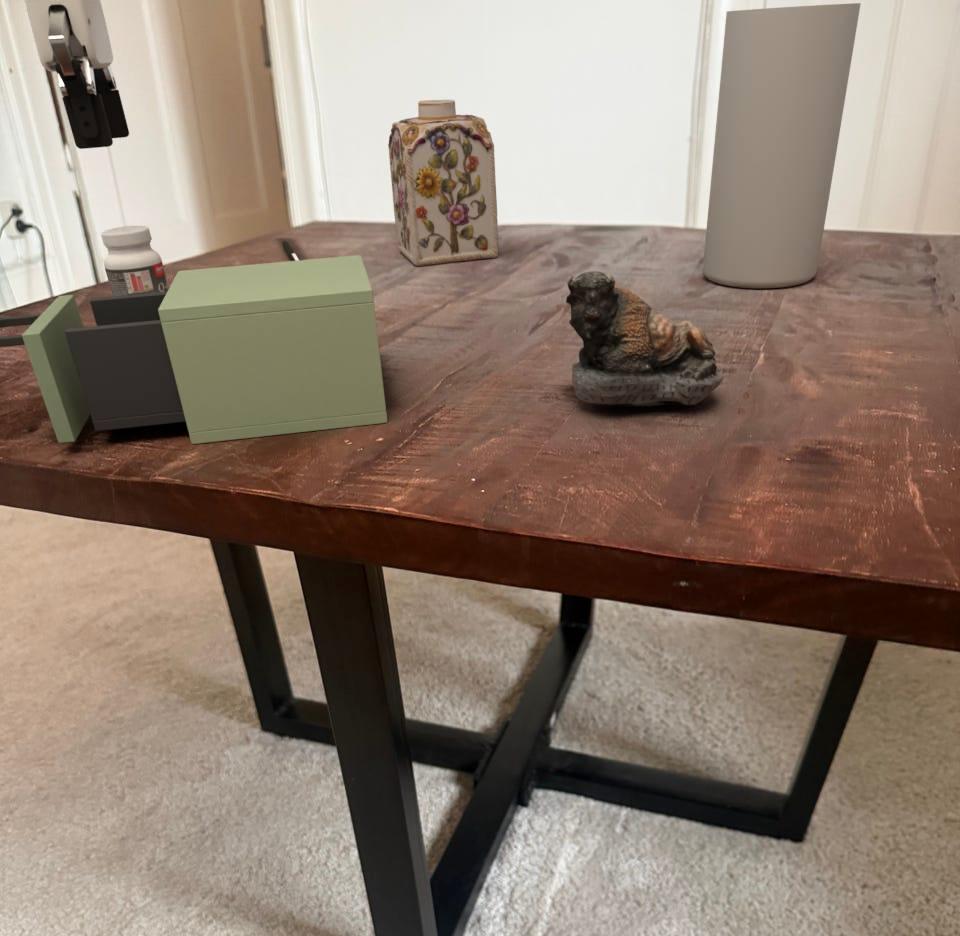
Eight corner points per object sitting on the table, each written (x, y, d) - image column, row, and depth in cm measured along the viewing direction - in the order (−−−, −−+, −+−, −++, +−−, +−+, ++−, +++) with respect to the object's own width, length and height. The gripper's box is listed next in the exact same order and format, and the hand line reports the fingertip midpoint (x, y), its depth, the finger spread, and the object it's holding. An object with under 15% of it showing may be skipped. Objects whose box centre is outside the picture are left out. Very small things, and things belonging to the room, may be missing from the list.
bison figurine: (703, 385, 70) (716, 252, 65) (734, 415, 65) (752, 271, 59) (557, 398, 70) (558, 264, 64) (576, 430, 64) (577, 286, 58)
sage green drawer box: (191, 444, 65) (157, 309, 60) (205, 390, 76) (177, 270, 70) (387, 422, 67) (372, 289, 61) (374, 372, 77) (361, 254, 72)
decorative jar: (396, 251, 122) (382, 101, 112) (476, 242, 124) (469, 94, 114) (414, 268, 113) (400, 105, 102) (500, 258, 115) (494, 98, 105)
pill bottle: (182, 332, 92) (158, 230, 86) (127, 341, 90) (98, 237, 84) (172, 320, 96) (148, 222, 91) (119, 329, 94) (91, 229, 89)
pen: (296, 270, 114) (294, 261, 113) (281, 245, 129) (280, 237, 129) (303, 270, 114) (301, 260, 114) (287, 245, 129) (286, 237, 129)
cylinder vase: (736, 261, 107) (765, 10, 93) (835, 272, 99) (882, 2, 85) (681, 281, 100) (702, 12, 85) (782, 295, 92) (824, 4, 78)
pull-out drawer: (-23, 452, 63) (-67, 342, 59) (18, 400, 73) (-17, 302, 68) (245, 423, 66) (222, 315, 61) (251, 376, 75) (232, 280, 71)
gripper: (22, -76, 80) (82, 137, 90) (-35, -101, 66) (43, 155, 76) (106, -80, 81) (156, 131, 91) (67, -106, 67) (131, 147, 77)
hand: (104, 142), depth 83 cm, fingers open, 9 cm apart
